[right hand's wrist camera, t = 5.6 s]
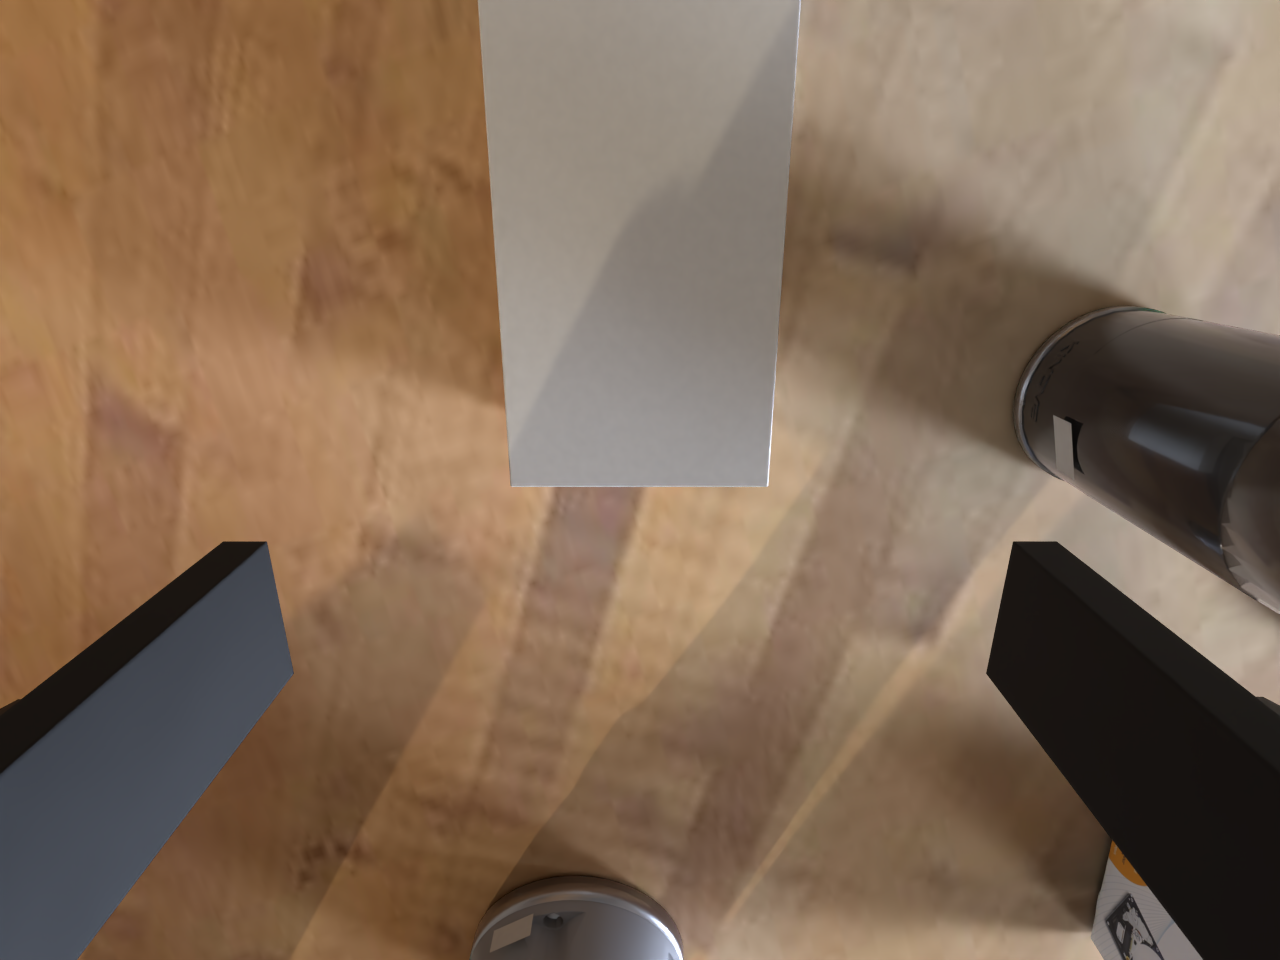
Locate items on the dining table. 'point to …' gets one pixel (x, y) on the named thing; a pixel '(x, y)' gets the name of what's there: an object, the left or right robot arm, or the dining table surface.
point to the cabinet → (639, 234)
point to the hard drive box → (1134, 918)
